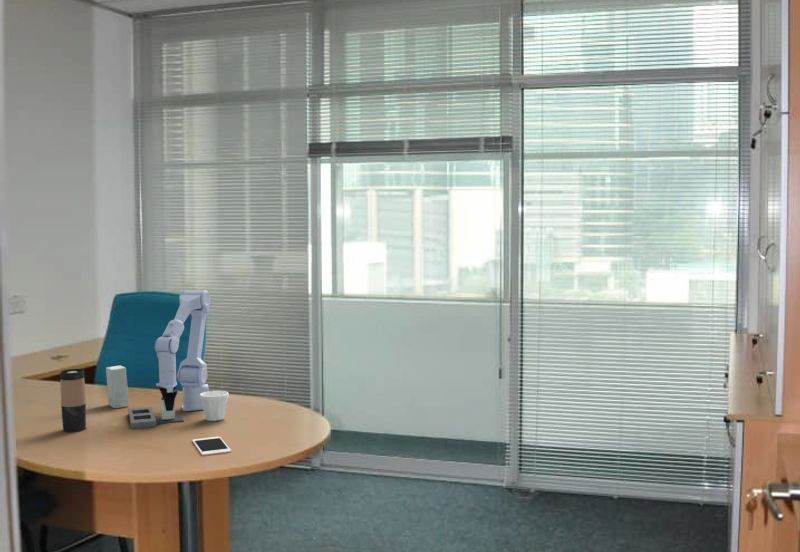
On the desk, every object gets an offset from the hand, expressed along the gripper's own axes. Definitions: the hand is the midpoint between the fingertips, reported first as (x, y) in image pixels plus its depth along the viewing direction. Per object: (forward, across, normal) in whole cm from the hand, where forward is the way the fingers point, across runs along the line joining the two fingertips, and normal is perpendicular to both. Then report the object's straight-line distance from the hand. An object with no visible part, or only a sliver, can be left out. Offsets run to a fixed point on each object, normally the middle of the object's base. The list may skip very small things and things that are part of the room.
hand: (168, 408), depth 291 cm
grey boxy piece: (+3, 0, 0) cm, 3 cm away
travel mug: (+4, +1, -31) cm, 31 cm away
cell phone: (+4, +40, +9) cm, 41 cm away
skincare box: (+4, -30, -16) cm, 34 cm away
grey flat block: (+4, -3, -9) cm, 10 cm away
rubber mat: (+4, 0, 0) cm, 4 cm away
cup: (+4, +6, +15) cm, 17 cm away
